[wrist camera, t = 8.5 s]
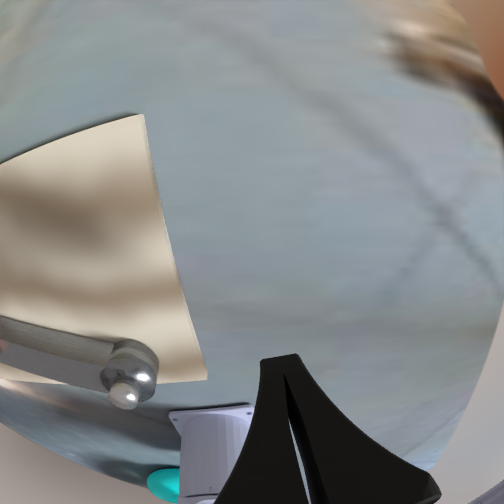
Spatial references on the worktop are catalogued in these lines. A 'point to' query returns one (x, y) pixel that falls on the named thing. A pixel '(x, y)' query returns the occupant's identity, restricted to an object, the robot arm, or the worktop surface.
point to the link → (82, 361)
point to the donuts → (165, 484)
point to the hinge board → (94, 248)
